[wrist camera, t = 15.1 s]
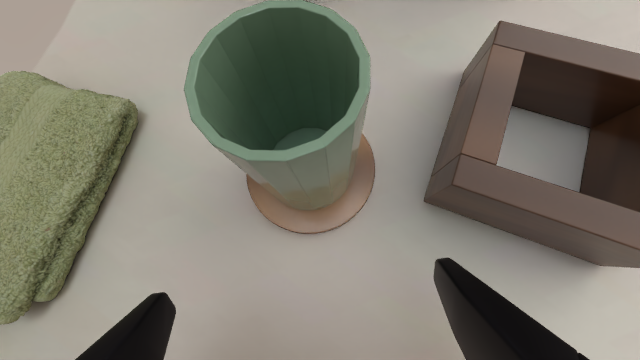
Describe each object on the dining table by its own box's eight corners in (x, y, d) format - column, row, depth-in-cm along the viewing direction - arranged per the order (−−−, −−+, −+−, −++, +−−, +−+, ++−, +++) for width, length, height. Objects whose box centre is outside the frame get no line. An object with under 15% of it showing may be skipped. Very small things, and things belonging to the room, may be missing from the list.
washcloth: (-81, 266, 21) (-155, 268, 18) (41, 81, 25) (-2, 56, 22) (50, 324, 19) (-7, 339, 16) (159, 113, 23) (131, 92, 20)
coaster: (390, 216, 19) (391, 215, 19) (258, 247, 19) (256, 247, 19) (355, 100, 22) (355, 97, 21) (240, 128, 22) (238, 125, 21)
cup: (372, 168, 20) (411, 71, 9) (305, 230, 19) (261, 203, 8) (312, 111, 21) (286, -28, 11) (248, 165, 20) (151, 73, 10)
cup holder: (601, 266, 17) (702, 272, 12) (423, 201, 19) (451, 184, 14) (622, 114, 20) (713, 70, 15) (464, 70, 22) (499, 19, 17)
